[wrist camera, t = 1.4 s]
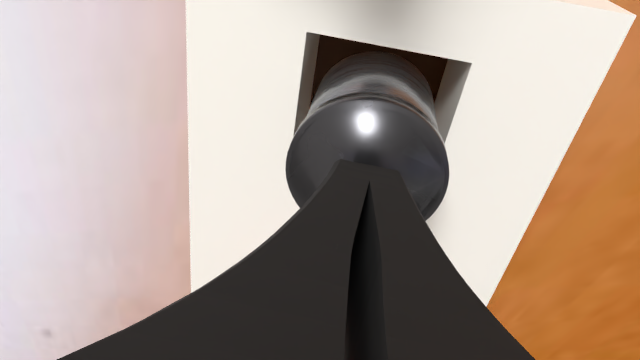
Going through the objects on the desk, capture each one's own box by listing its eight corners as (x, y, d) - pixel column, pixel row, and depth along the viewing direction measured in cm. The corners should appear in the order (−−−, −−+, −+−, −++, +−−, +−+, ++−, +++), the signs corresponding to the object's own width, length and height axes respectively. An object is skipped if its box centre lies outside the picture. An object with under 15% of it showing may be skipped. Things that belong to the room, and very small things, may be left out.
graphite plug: (453, 61, 13) (472, 120, 9) (417, 173, 15) (423, 253, 12) (321, 35, 13) (295, 85, 10) (304, 150, 15) (278, 223, 12)
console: (584, -12, 14) (636, 15, 11) (434, 330, 22) (439, 396, 19) (228, -76, 14) (184, -67, 11) (218, 284, 23) (191, 341, 20)
